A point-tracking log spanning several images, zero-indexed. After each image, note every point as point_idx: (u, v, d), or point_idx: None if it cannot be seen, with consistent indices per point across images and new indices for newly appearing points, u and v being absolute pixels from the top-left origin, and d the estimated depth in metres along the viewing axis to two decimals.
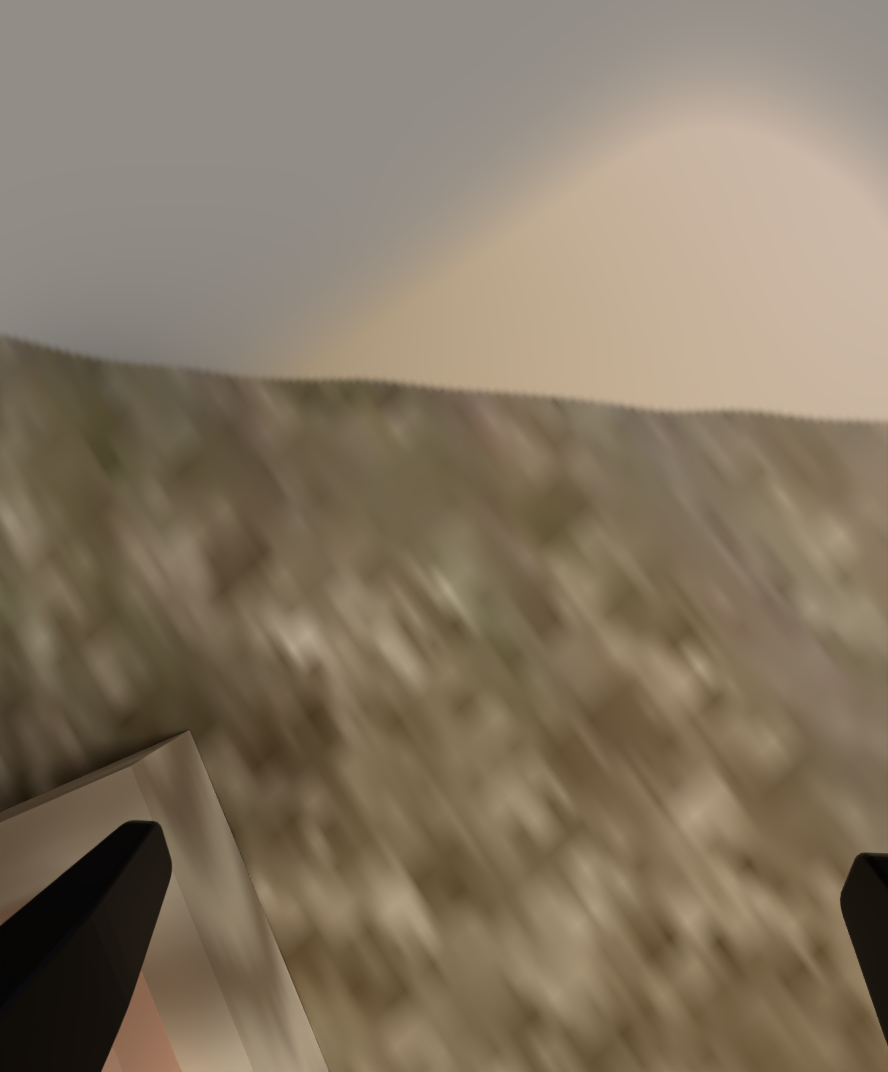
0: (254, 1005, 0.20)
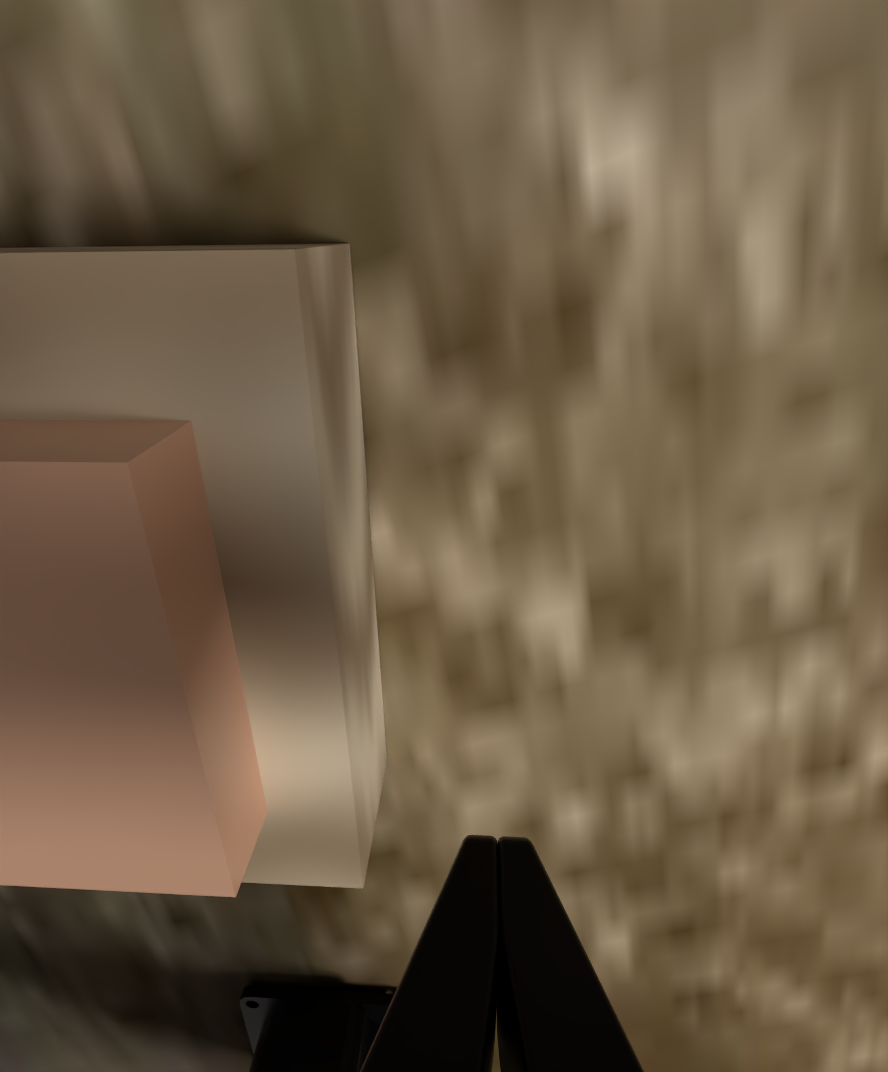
0: (356, 674, 0.14)
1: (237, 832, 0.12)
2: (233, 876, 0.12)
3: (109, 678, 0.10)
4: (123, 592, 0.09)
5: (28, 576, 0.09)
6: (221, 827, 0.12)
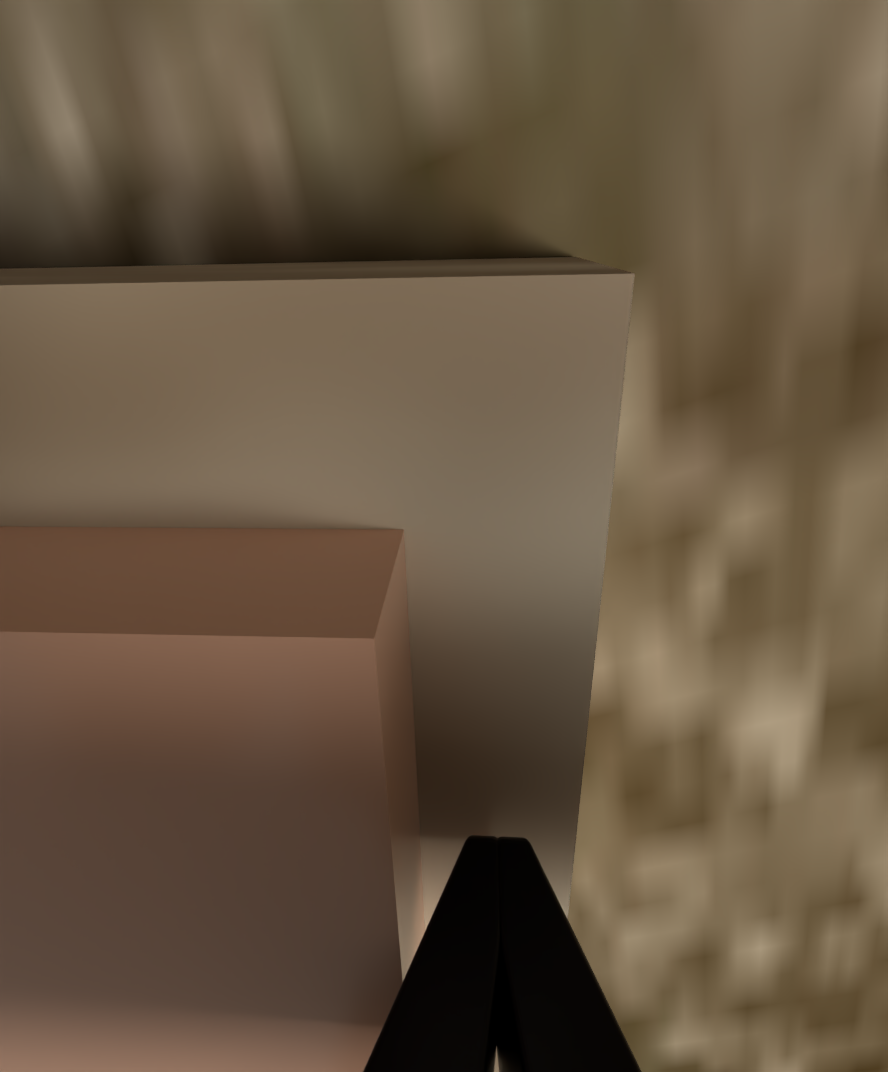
0: None
1: None
2: None
3: (285, 924, 0.07)
4: (330, 817, 0.06)
5: (179, 794, 0.06)
6: None
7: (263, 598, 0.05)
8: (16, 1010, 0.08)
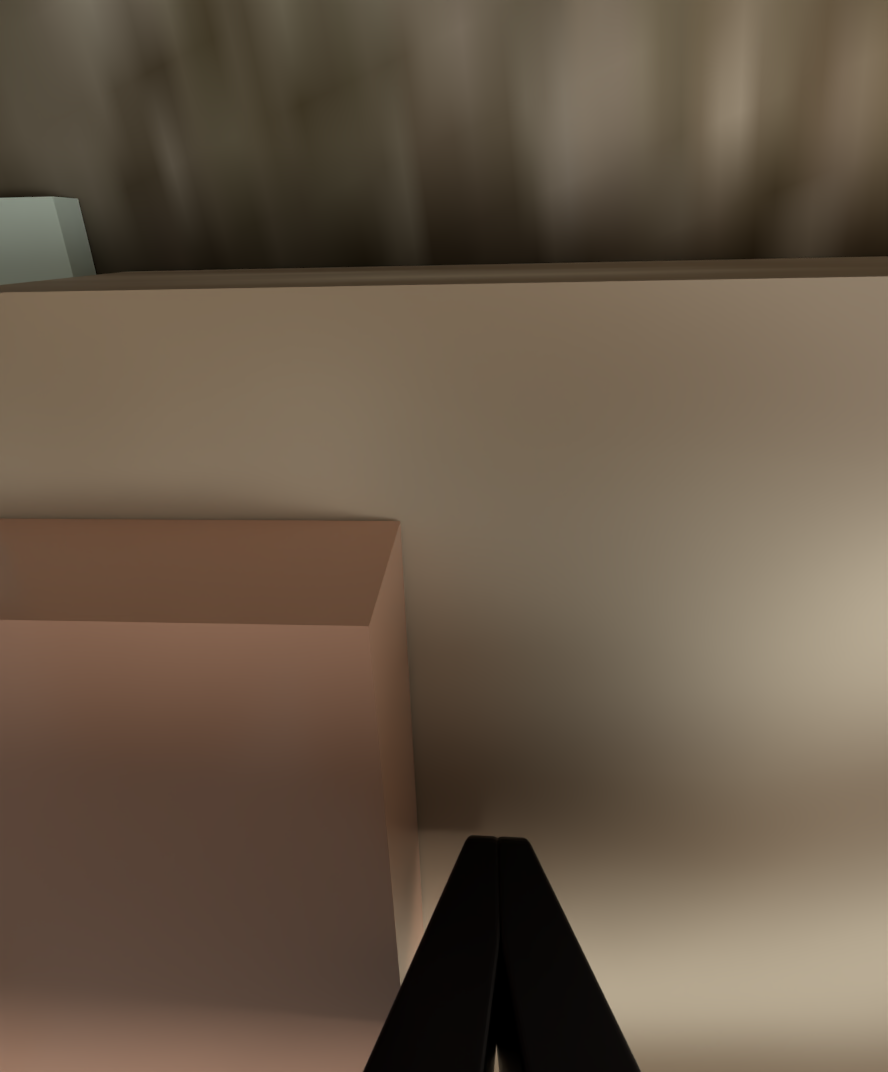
0: None
1: None
2: None
3: (282, 913, 0.07)
4: (325, 805, 0.06)
5: (175, 783, 0.06)
6: None
7: (259, 587, 0.05)
8: (14, 1001, 0.08)
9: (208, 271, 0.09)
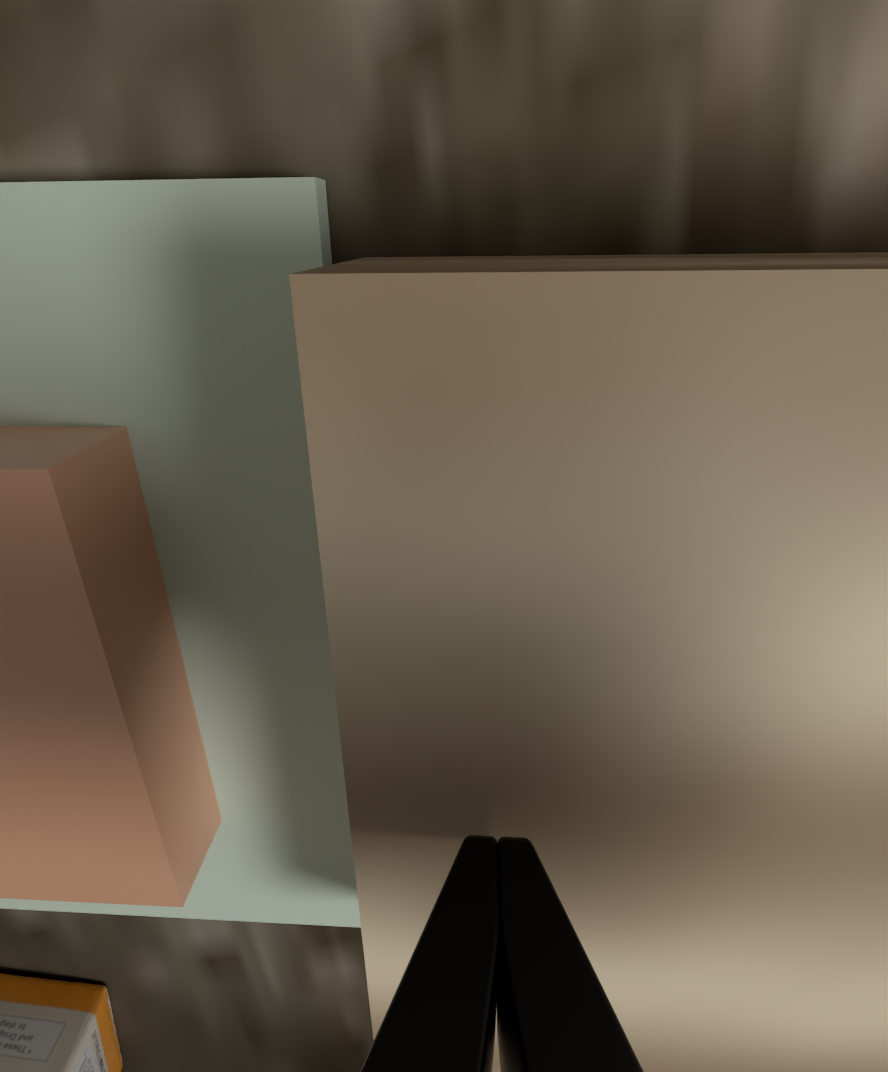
0: None
1: None
2: None
3: None
4: None
5: None
6: None
7: None
8: None
9: (466, 257, 0.09)
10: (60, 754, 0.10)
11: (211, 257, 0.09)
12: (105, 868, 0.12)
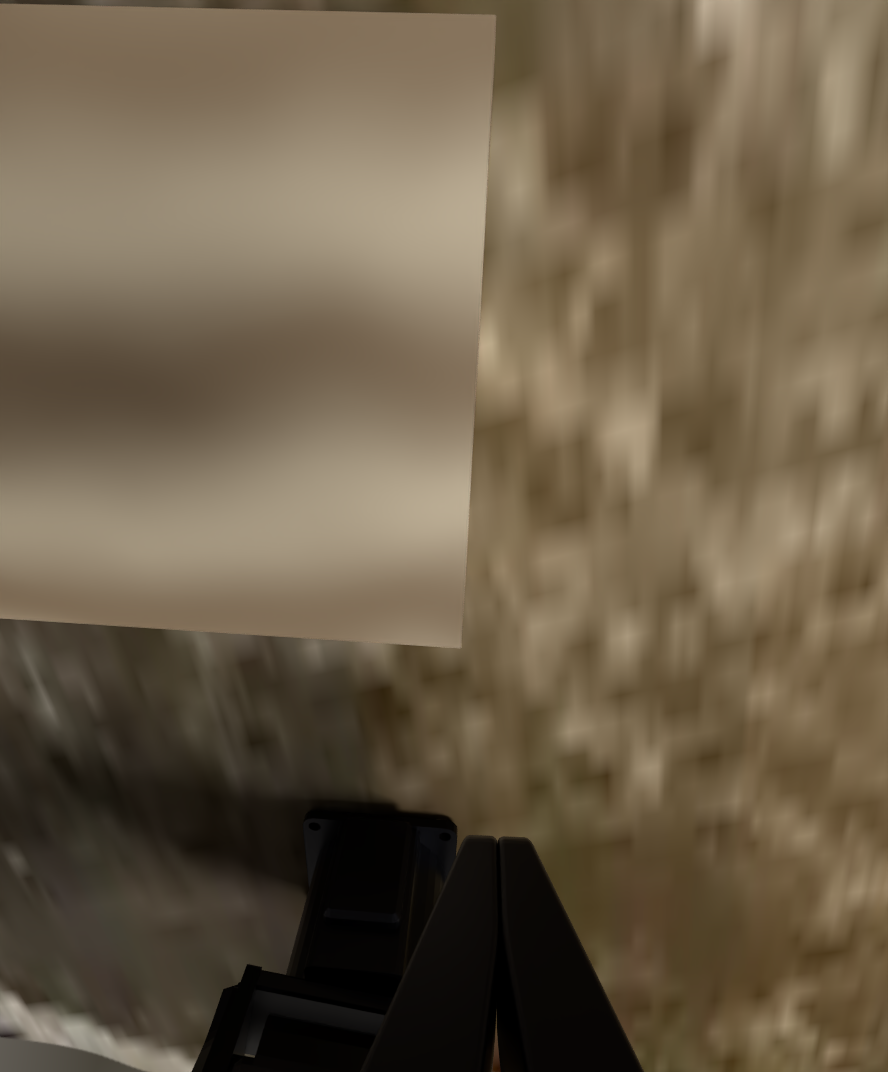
0: None
1: None
2: None
3: None
4: None
5: None
6: None
7: None
8: None
9: None
10: None
11: None
12: None
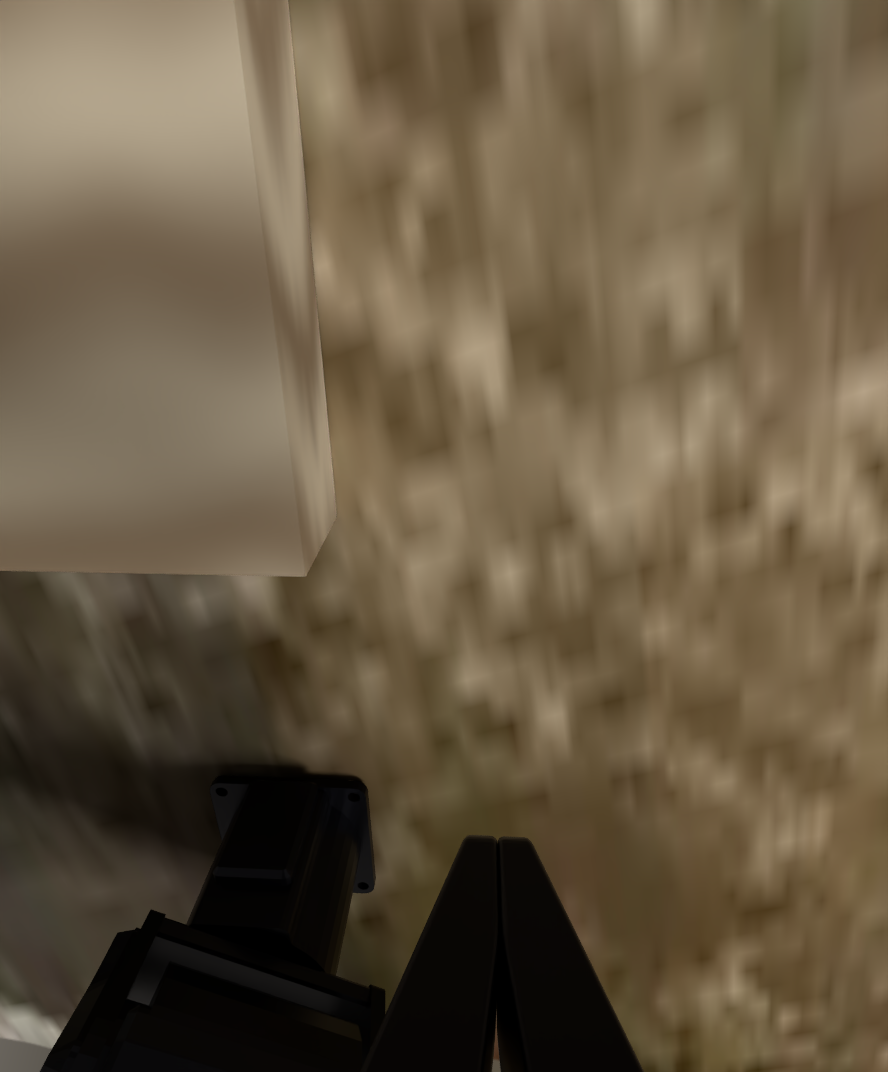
0: (295, 365, 0.16)
1: None
2: None
3: None
4: None
5: None
6: None
7: None
8: None
9: None
10: None
11: None
12: None
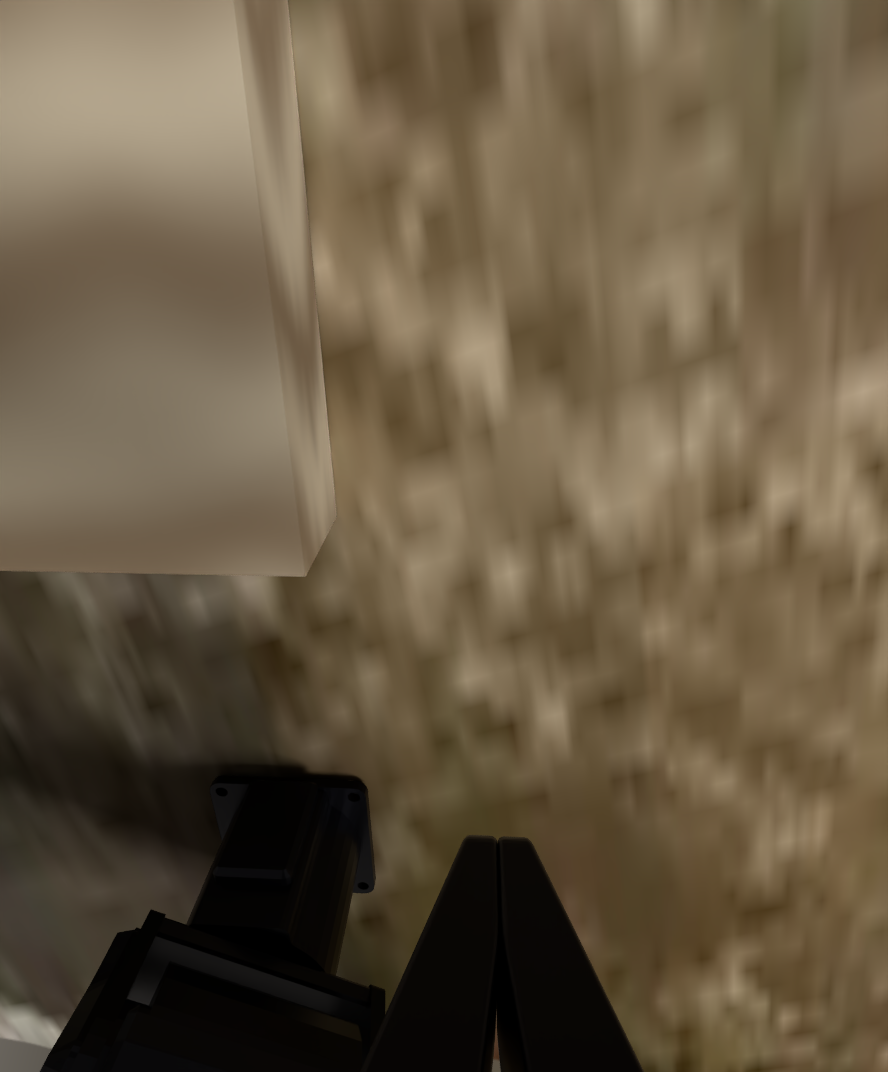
0: (295, 365, 0.16)
1: None
2: None
3: None
4: None
5: None
6: None
7: None
8: None
9: None
10: None
11: None
12: None
